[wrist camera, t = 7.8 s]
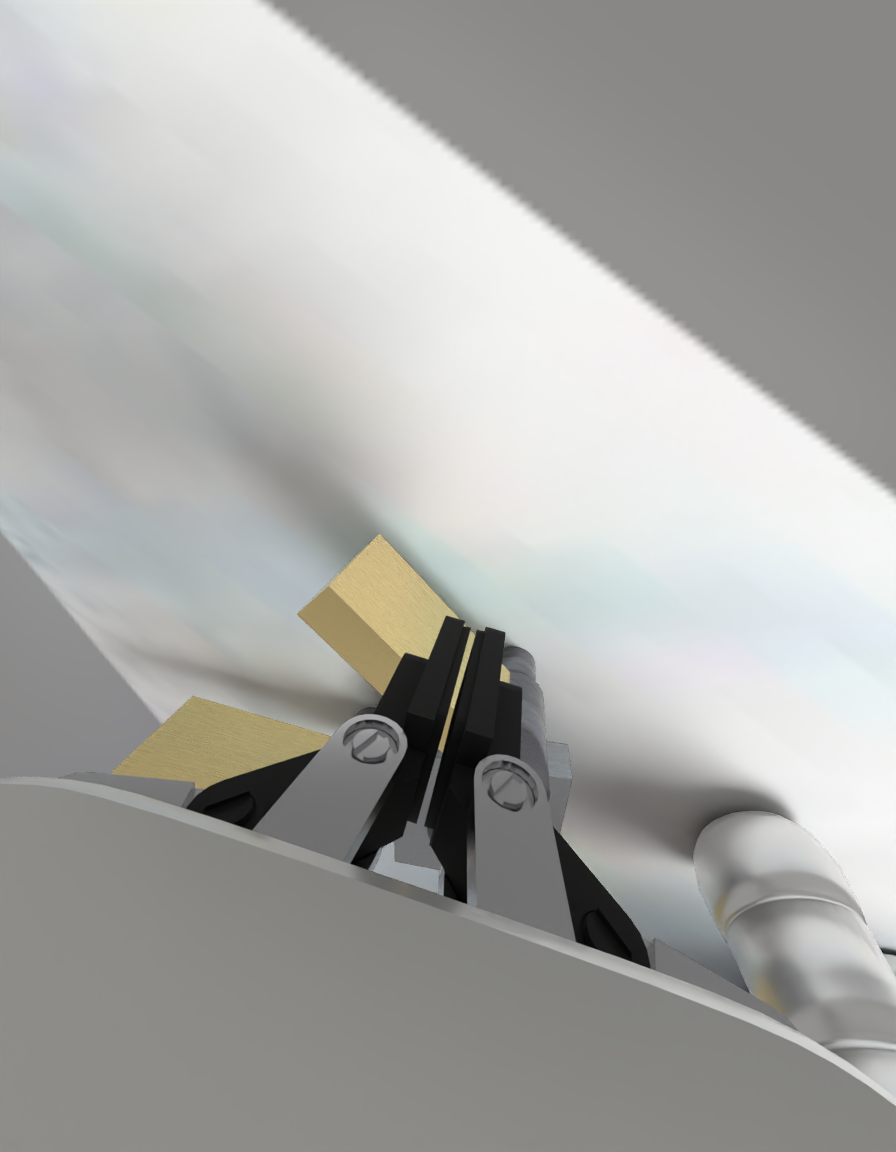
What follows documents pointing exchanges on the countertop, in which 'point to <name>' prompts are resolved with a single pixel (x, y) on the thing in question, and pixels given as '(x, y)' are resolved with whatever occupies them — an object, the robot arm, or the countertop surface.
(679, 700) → the countertop surface
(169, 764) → the tan block
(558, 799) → the tribrach base
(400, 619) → the brushed brass bar
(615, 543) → the countertop surface
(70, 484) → the countertop surface
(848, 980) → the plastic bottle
